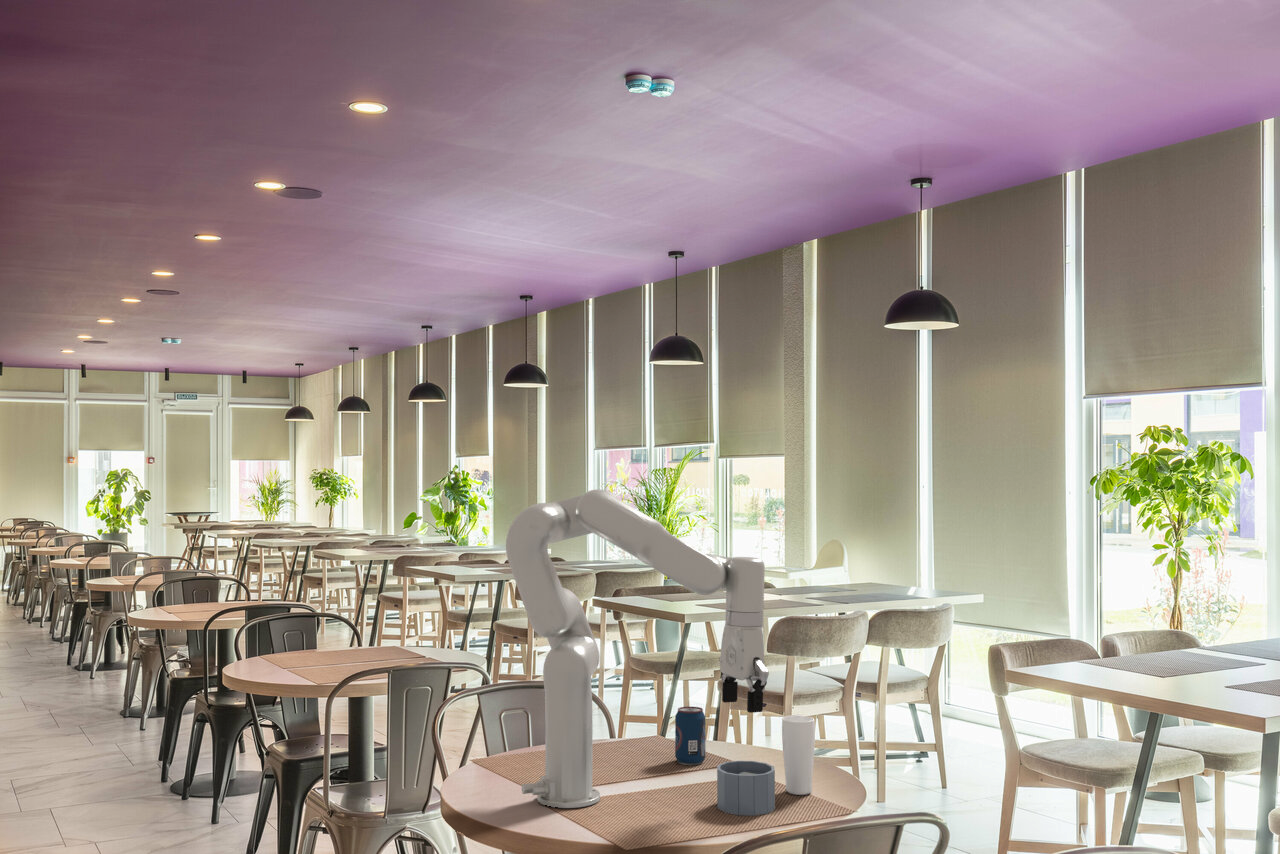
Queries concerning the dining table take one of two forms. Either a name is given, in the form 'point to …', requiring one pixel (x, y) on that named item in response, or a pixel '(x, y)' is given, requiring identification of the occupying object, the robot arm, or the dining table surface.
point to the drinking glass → (798, 753)
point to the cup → (745, 788)
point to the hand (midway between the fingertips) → (741, 706)
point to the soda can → (690, 736)
